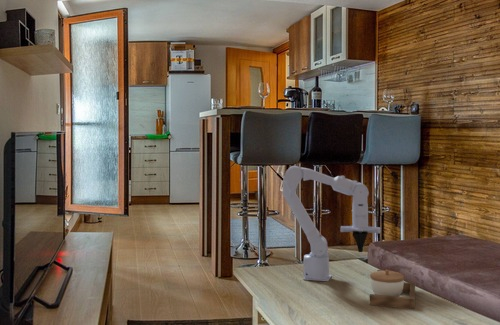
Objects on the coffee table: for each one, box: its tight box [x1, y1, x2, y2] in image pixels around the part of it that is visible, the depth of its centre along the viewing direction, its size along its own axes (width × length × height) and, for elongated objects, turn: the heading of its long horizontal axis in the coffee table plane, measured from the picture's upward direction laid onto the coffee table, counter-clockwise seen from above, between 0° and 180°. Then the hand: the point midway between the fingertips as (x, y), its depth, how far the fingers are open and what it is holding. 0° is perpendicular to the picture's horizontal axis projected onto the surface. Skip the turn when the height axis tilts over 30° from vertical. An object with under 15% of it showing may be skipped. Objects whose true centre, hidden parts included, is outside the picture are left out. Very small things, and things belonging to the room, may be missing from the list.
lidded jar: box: [369, 269, 405, 297], centre depth 164 cm, size 11×11×9 cm
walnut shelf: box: [369, 281, 416, 310], centre depth 164 cm, size 14×18×3 cm
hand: (360, 251), depth 187 cm, fingers closed
